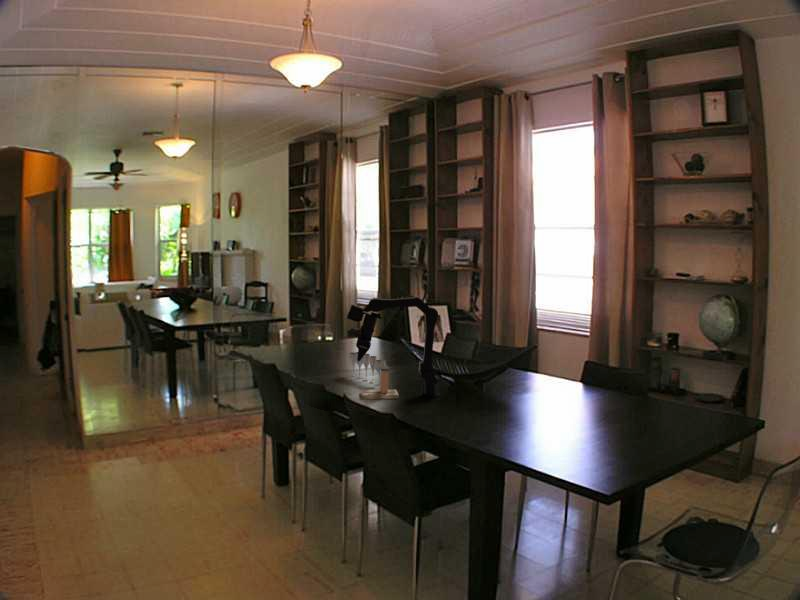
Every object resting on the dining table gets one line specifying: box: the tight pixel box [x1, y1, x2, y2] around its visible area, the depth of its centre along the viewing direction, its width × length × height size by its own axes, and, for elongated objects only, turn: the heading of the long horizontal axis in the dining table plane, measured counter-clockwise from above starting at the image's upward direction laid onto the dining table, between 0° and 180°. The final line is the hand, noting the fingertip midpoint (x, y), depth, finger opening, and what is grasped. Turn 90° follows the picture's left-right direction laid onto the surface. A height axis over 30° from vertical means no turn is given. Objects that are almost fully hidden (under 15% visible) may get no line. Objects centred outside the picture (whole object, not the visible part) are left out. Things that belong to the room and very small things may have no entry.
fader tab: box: [379, 365, 390, 393], centre depth 270 cm, size 4×6×11 cm, turn 7°
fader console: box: [360, 389, 400, 400], centre depth 270 cm, size 16×10×2 cm, turn 97°
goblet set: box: [348, 351, 387, 387], centre depth 298 cm, size 28×6×13 cm, turn 38°
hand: (358, 358), depth 270 cm, fingers open, 9 cm apart
